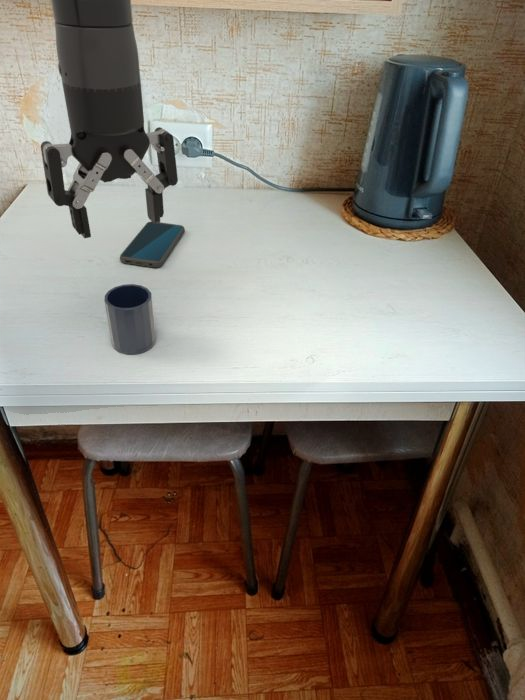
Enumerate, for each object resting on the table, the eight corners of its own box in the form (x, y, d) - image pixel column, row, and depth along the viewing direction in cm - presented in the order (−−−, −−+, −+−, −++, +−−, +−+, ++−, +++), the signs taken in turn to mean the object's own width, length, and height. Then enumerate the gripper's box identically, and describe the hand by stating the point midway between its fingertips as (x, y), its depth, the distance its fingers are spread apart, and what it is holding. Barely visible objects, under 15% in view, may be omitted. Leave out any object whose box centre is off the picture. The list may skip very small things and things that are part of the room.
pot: (121, 360, 68) (114, 314, 63) (105, 336, 72) (97, 291, 67) (162, 346, 71) (159, 301, 66) (145, 323, 75) (140, 279, 70)
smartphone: (117, 262, 87) (117, 257, 87) (148, 224, 99) (148, 220, 98) (160, 268, 86) (160, 263, 86) (186, 229, 98) (186, 225, 97)
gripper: (37, 91, 45) (71, 255, 55) (183, 79, 51) (189, 228, 61) (15, 72, 49) (50, 227, 59) (152, 64, 56) (162, 204, 66)
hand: (121, 227), depth 60 cm, fingers open, 8 cm apart
